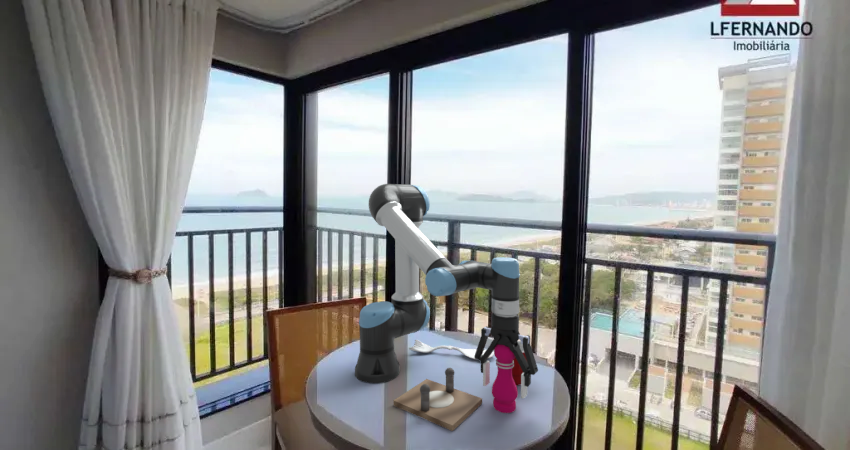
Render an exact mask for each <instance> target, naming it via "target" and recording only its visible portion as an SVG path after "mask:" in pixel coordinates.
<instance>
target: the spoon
mask: <svg viewBox="0 0 850 450" xmlns="http://www.w3.org/2000/svg"><path fill="white" fill-rule="evenodd" d="M408 349H409V350H410V351H413V352H418V353H422V354H423V353H424V354H425V353H432V352H435V351H438V350H442V349H444V350H449V351H452V350H455V351H458V352H459V353H461V354H463V355H464V356H466V357H467V358H469V359H473V360H475V361H476V360H477V361H479V360H478V359H475V357H474V356H475V353H476V350H477V348H476V349H475V348H460V347H458V346H453V345H438V346H435V347H432V346H430V345H429V344H426V343H423V342H422V341H420V340H419V339H414V343H413V346H410V347H408ZM486 350H487V349H484V351H483V353H482V355H483V354H484V353H485V352H486ZM493 357H495V355H494V351H493V352H492V353H491V355H490V356H489V357H488V359H491V358H493Z"/></svg>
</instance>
